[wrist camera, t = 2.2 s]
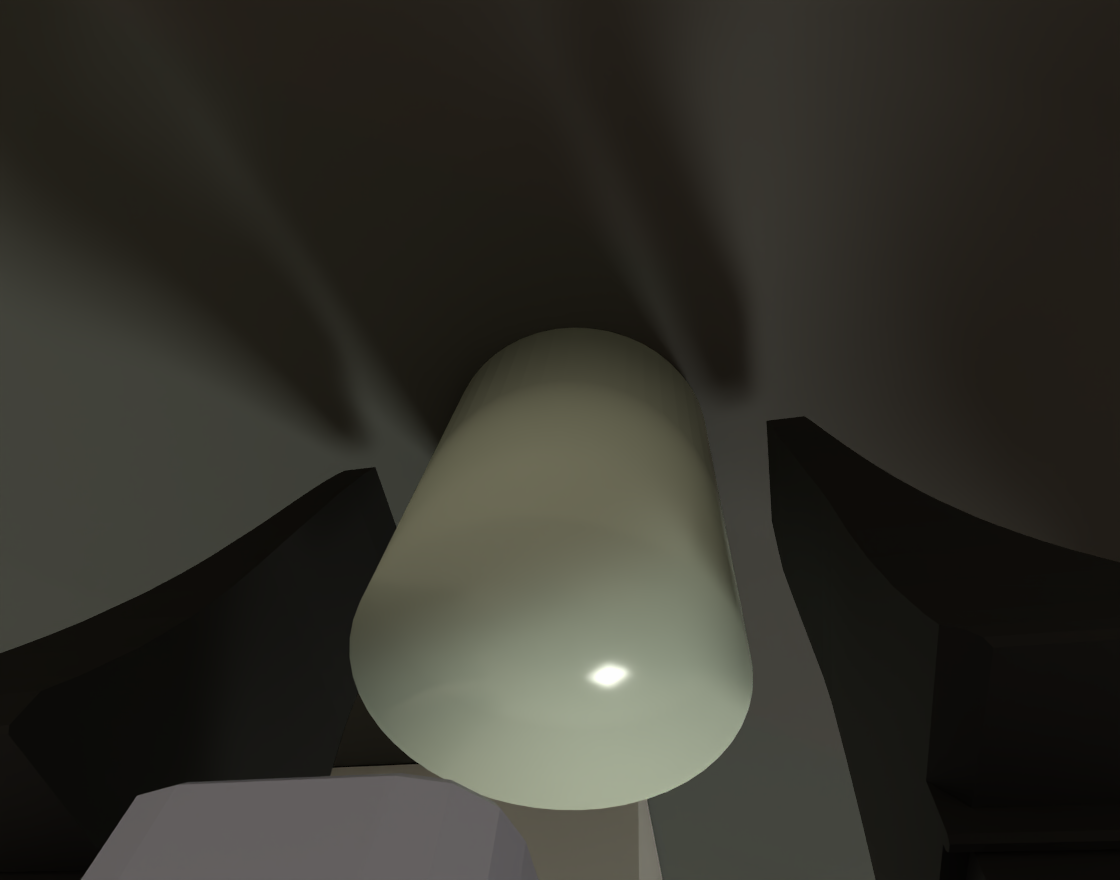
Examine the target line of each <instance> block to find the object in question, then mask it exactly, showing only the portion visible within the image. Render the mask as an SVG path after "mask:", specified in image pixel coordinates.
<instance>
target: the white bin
mask: <svg viewBox="0 0 1120 880" xmlns="http://www.w3.org/2000/svg"><path fill="white" fill-rule="evenodd" d="M391 773H404V774H412V775H419V776H427V777H434V778H441V777H439V776H438V775H436V774H434V773H432V772H431V771H429V770H427V769H426V768H424V767H423V766H422V765H420V764H407V765H384V766H362V767H339V768H332V771H331V775H330V776H344V775H368V774H391ZM442 779H443V778H442ZM482 796H483V795H482ZM484 797H485V796H484ZM486 798H488V797H486ZM488 799H490V800H492V801H494V802H495V803H496V804H497V805H498V806H499V807H500V808H501V810H502V811H503V812H504V813H505V815H506V816H507V817H508V819H509V820H510V821H511V823H512V824H513V825H514V827H515V828H516V829H517V831H518V832H519V833H520V834H521V836H522V837H523V838H524V840H525V841H526V844H527V847H528V850H529V853H530V856H531V859H532V862H533V865H534V868H535V871H536V874H537V877H538V879H539V880H662V875H661V869H660V864H659V859H658V854H657V849H656V844H655V839H654V834H653V828H652V823H651V818H650V813H649V808H648V803H647V799H646V800H642V801H638V802H634V803H630V804H627V805H621V806H615V807H609V808H602V809H589V810H553V809H542V808H533V807H527V806H522V805H516V804H511V803H507V802H503V801H499V800H495V799H492V798H488Z"/></svg>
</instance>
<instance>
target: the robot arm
mask: <svg viewBox="0 0 1120 880" xmlns="http://www.w3.org/2000/svg"><path fill="white" fill-rule="evenodd" d="M767 437H768V456H769V474H770V493H771V511H772V523H773V528H774V532H775V537H776V541H777V546H778V550H779V554H780V559H781V563H782V567H783V571H784V573H785V576H786V579H787V582H788V584H789V587H790V590H791V592H792V595H793V598H794V600H795V603H796V606H797V608H798V611H799V614H800V616H801V619H802V622H803V624H804V627H805V629H806V632H807V635H808V637H809V640H810V643H811V645H812V648H813V651H814V653H815V656H816V658H817V661H818V664H819V666H820V669H821V672H822V674H823V677H824V680H825V683H826V686H827V689H828V692H829V695H830V698H831V701H832V705H833V709H834V713H835V716H836V720H837V724H838V728H839V732H840V736H841V739H842V743H843V747H844V751H845V755H846V759H847V763H848V767H849V771H850V775H851V779H852V783H853V787H854V791H855V795H856V799H857V803H858V807H859V811H860V815H861V819H862V823H863V828H864V832H865V836H866V840H867V845H868V849H869V853H870V857H871V862H872V866H873V870H874V874H875V879H876V880H1120V563H1119V562H1116V561H1112V560H1108V559H1104V558H1100V557H1096V556H1093V555H1089V554H1085V553H1081V552H1077V551H1074V550H1070V549H1067V548H1063V547H1060V546H1057V545H1053V544H1050V543H1047V542H1043V541H1040V540H1037V539H1034V538H1032V537H1029V536H1026V535H1023V534H1020V533H1017V532H1014V531H1012V530H1009V529H1006V528H1003V527H1000V526H997V525H995V524H992V523H990V522H987V521H984V520H982V519H979V518H977V517H974V516H972V515H970V514H968V513H965V512H963V511H961V510H959V509H956V508H954V507H952V506H950V505H948V504H945V503H943V502H941V501H939V500H937V499H935V498H933V497H931V496H929V495H927V494H925V493H923V492H921V491H919V490H917V489H915V488H913V487H912V486H910V485H908V484H906V483H904V482H903V481H901V480H899V479H897V478H895V477H894V476H892V475H890V474H889V473H887V472H885V471H884V470H882V469H880V468H879V467H877V466H875V465H874V464H872V463H871V462H869V461H868V460H866V459H865V458H863V457H862V456H860V455H859V454H857V453H856V452H854V451H853V450H851V449H850V448H848V447H847V446H845V445H844V444H842V443H841V442H840V441H838V440H837V439H835V438H834V437H833V436H831V435H830V434H828V433H827V432H826V431H824V430H823V429H822V428H820V427H819V426H817V425H816V424H815V423H813V422H812V421H810V420H809V419H808V418H806V417H796V418H787V419H779V420H770V421H767ZM395 530H396V525H395V522H394V519H393V516H392V514H391V511H390V508H389V505H388V502H387V499H386V496H385V494H384V491H383V488H382V485H381V482H380V479H379V477H378V474H377V471H376V468H375V467H373V468H364V469H356V470H347V471H343V472H341V473H339V474H337V475H335V476H333V477H332V478H330V479H328V480H326V481H325V482H323V483H322V484H320V485H318V486H317V487H315V488H314V489H312V490H311V491H309V492H308V493H306V494H305V495H303V496H302V497H300V498H299V499H297V500H296V501H294V502H293V503H291V504H290V505H289V506H287V507H286V508H284V509H283V510H281V511H280V512H278V513H277V514H275V515H274V516H272V517H271V518H269V519H268V520H267V521H265V522H264V523H262V524H261V525H259V526H258V527H256V528H255V529H253V530H252V531H250V532H248V533H247V534H245V535H244V536H242V537H241V538H239V539H237V540H236V541H234V542H233V543H231V544H230V545H228V546H226V547H225V548H223V549H222V550H220V551H219V552H217V553H215V554H214V555H212V556H211V557H209V558H207V559H206V560H204V561H202V562H201V563H199V564H197V565H196V566H194V567H192V568H190V569H189V570H187V571H185V572H183V573H182V574H180V575H178V576H176V577H174V578H172V579H170V580H168V581H167V582H165V583H163V584H161V585H159V586H157V587H155V588H153V589H152V590H150V591H148V592H146V593H144V594H142V595H140V596H137V597H135V598H133V599H131V600H129V601H126V602H124V603H122V604H120V605H118V606H116V607H113V608H111V609H109V610H107V611H105V612H103V613H100V614H98V615H96V616H94V617H92V618H90V619H87V620H85V621H83V622H80V623H78V624H76V625H73V626H71V627H68V628H66V629H63V630H61V631H58V632H56V633H53V634H51V635H48V636H46V637H43V638H41V639H38V640H35V641H33V642H30V643H27V644H25V645H22V646H19V647H17V648H14V649H11V650H8V651H5V652H3V653H0V880H539V879H538V877H537V874H536V871H535V868H534V865H533V862H532V859H531V856H530V853H529V850H528V847H527V844H526V841H525V840H524V838H523V837H522V836H521V834H520V833H519V832H518V831H517V829H516V828H515V827H514V825H513V824H512V823H511V821H510V820H509V819H508V817H507V816H506V815H505V813H504V812H503V811H502V810H501V808H500V807H499V806H498V805H497V804H496V803H495V802H494V801H492V800H490V799H488V798H486V797H484V796H482V795H480V794H478V793H476V792H474V791H472V790H470V789H468V788H466V787H464V786H463V785H461V784H459V783H457V782H455V781H453V780H449V779H442V778H434V777H427V776H419V775H412V774H404V773H391V774H368V775H344V776H330V775H331V771H332V768H333V765H334V761H335V758H336V754H337V751H338V748H339V744H340V741H341V737H342V734H343V731H344V728H345V725H346V722H347V720H348V717H349V714H350V711H351V709H352V706H353V703H354V701H355V699H356V696H357V694H358V690H357V687H356V684H355V681H354V678H353V674H352V668H351V663H350V634H351V628H352V623H353V619H354V616H355V614H356V611H357V608H358V606H359V603H360V601H361V599H362V597H363V595H364V593H365V591H366V589H367V587H368V585H369V583H370V581H371V579H372V577H373V575H374V573H375V571H376V569H377V567H378V564H379V562H380V560H381V558H382V556H383V554H384V552H385V550H386V548H387V546H388V544H389V542H390V540H391V538H392V536H393V534H394V532H395Z"/></svg>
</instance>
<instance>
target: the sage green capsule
mask: <svg viewBox="0 0 1120 880" xmlns="http://www.w3.org/2000/svg"><path fill="white" fill-rule="evenodd" d="M350 663H351V668H352V674H353V678H354V681H355V684H356V687H357V690H358V692H359V695H360V697H361V699H362V701H363V703H364V705H365V706H366V708H367V710H368V712H369V713H370V715H371V716H372V718H373V719H374V720H375V722H376V723H377V725H378V726H379V727H380V729H381V730H382V731H383V732H384V733H385V734H386V735H387V736H388V737H389V739H390V740H391V741H392V742H393V743H394V744H395V745H396V746H398V747H399V748H400V749H401V750H402V751H403V752H404V753H406V754H407V755H408V756H409V757H410V758H412V759H413V760H414V761H416V762H417V763H419V764H420V765H422V766H423V767H424V768H426V769H427V770H429V771H431V772H432V773H434V774H436V775H438V776H439V777H441V778H443V779H449V780H453V781H455V782H457V783H459V784H461V785H463V786H464V787H466V788H468V789H470V790H472V791H474V792H476V793H478V794H480V795H483V796H485V797H488V798H492V799H495V800H499V801H503V802H507V803H511V804H516V805H522V806H527V807H533V808H542V809H553V810H589V809H602V808H609V807H615V806H621V805H627V804H630V803H634V802H638V801H642V800H646V799H649V798H651V797H654V796H657V795H659V794H662V793H665V792H667V791H669V790H671V789H673V788H675V787H677V786H679V785H681V784H683V783H685V782H687V781H689V780H690V779H692V778H693V777H695V776H696V775H698V774H699V773H701V772H702V771H704V770H705V769H706V768H707V767H708V766H709V765H711V764H712V763H713V762H714V761H715V760H716V759H717V758H719V756H720V755H721V754H722V753H723V752H724V751H725V750H726V748H727V747H728V746H729V745H730V744H731V743H732V741H733V739H734V738H735V736H736V734H737V733H738V731H739V730H740V728H741V726H742V724H743V721H744V719H745V717H746V714H747V712H748V709H749V705H750V700H751V695H752V690H753V668H752V662H751V656H750V650H749V645H748V640H747V635H746V630H745V625H744V619H743V614H742V609H741V604H740V599H739V594H738V589H737V584H736V579H735V573H734V568H733V563H732V558H731V553H730V548H729V543H728V538H727V533H726V527H725V522H724V517H723V512H722V507H721V502H720V497H719V492H718V487H717V481H716V476H715V471H714V466H713V461H712V456H711V451H710V446H709V441H708V435H707V430H706V425H705V420H704V416H703V413H702V410H701V407H700V404H699V402H698V400H697V398H696V396H695V394H694V392H693V390H692V389H691V387H690V386H689V384H688V383H687V382H686V380H685V379H684V377H683V376H682V375H681V374H680V373H679V372H678V371H677V370H676V369H675V367H674V366H673V365H672V364H671V363H669V362H668V361H667V360H666V359H665V358H663V357H662V356H661V355H660V354H658V353H657V352H655V351H654V350H652V349H650V348H649V347H647V346H645V345H644V344H642V343H640V342H637V341H635V340H633V339H631V338H629V337H626V336H623V335H620V334H616V333H613V332H610V331H604V330H598V329H592V328H562V329H553V330H549V331H544V332H539V333H536V334H533V335H530V336H527V337H525V338H522V339H520V340H518V341H516V342H514V343H512V344H510V345H508V346H506V347H505V348H504V349H502V350H501V351H499V352H498V353H496V354H495V355H493V356H492V357H491V358H490V359H489V360H488V361H487V362H486V363H485V364H484V365H483V366H482V367H481V368H480V369H479V370H478V372H477V373H476V374H475V375H474V377H473V378H472V379H471V381H470V383H469V384H468V386H467V388H466V390H465V391H464V393H463V395H462V397H461V399H460V401H459V403H458V405H457V407H456V409H455V411H454V413H453V415H452V417H451V419H450V421H449V423H448V425H447V427H446V429H445V431H444V434H443V436H442V438H441V440H440V442H439V444H438V446H437V448H436V450H435V452H434V454H433V456H432V458H431V460H430V462H429V464H428V466H427V468H426V470H425V472H424V474H423V476H422V478H421V480H420V482H419V484H418V486H417V488H416V490H415V492H414V494H413V496H412V498H411V500H410V502H409V504H408V506H407V508H406V510H405V512H404V514H403V516H402V518H401V520H400V522H399V524H398V526H397V528H396V530H395V532H394V534H393V536H392V538H391V540H390V542H389V544H388V546H387V548H386V550H385V552H384V554H383V556H382V558H381V560H380V562H379V564H378V567H377V569H376V571H375V573H374V575H373V577H372V579H371V581H370V583H369V585H368V587H367V589H366V591H365V593H364V595H363V597H362V599H361V601H360V603H359V606H358V608H357V611H356V614H355V616H354V619H353V623H352V628H351V634H350Z"/></svg>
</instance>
